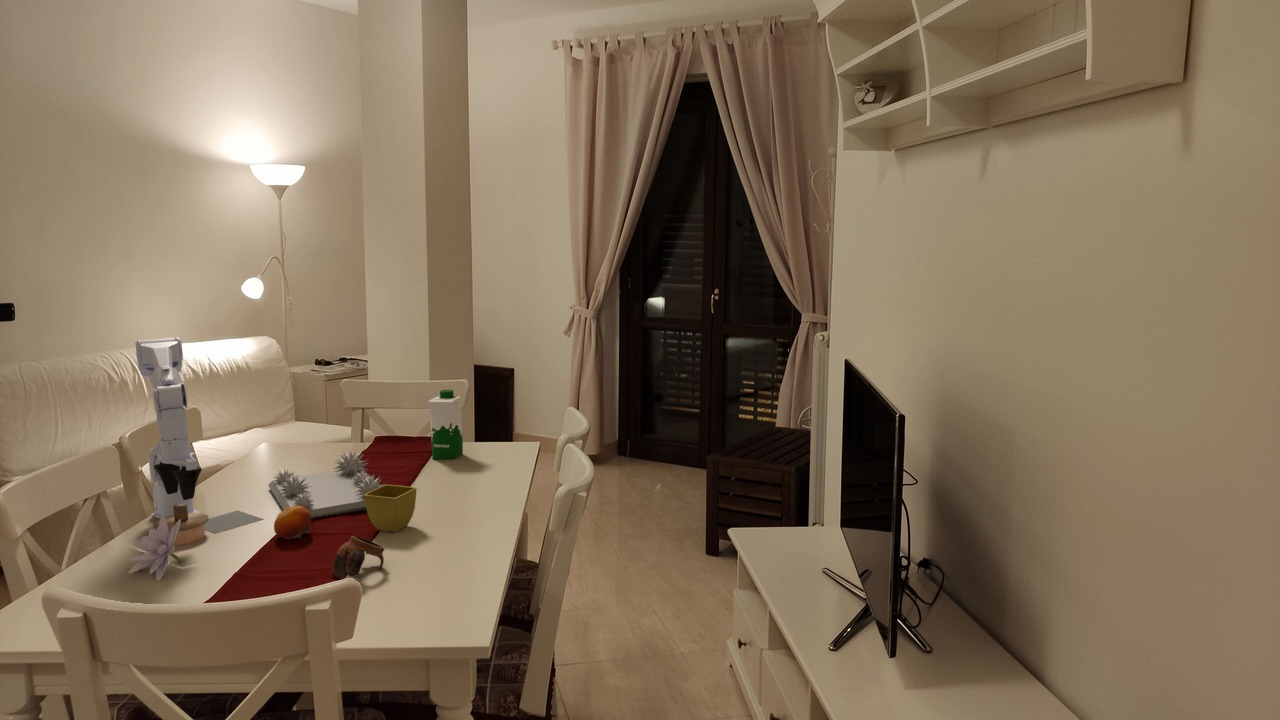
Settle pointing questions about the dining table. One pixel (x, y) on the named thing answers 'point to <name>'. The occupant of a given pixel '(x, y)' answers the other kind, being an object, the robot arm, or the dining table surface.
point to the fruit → (292, 522)
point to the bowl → (189, 535)
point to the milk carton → (446, 426)
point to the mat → (229, 521)
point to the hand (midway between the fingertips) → (180, 496)
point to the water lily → (157, 548)
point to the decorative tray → (327, 488)
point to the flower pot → (390, 506)
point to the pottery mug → (355, 556)
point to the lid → (184, 518)
